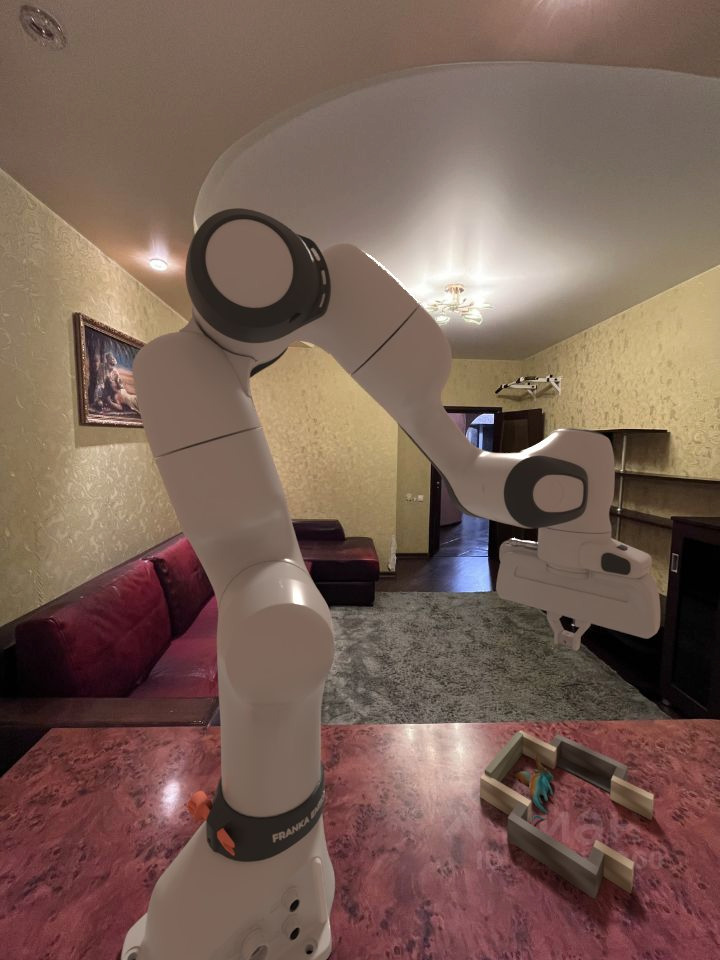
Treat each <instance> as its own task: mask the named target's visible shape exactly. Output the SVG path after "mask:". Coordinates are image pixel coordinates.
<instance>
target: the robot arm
mask: <svg viewBox="0 0 720 960" xmlns="http://www.w3.org/2000/svg"><path fill="white" fill-rule="evenodd" d="M312 249H313V250H314V251H315V253H316V254H317V255H315V254H314V252H313V250H312ZM184 273H185V283H186V289H187V292H188V296H189V298H190V302H191V310H192V311H191V317H190V319H189V320H188V323H187V324H186V325H185V326H184V327H181V328H180V329H179V330H178V331H176V332H175V331H174V332H170V333H166V334H162V335H160V336H157V337H155V338H153V339H151V340H150V341H149V342H147V343H146V344H144V345H143V346H142V347H141V348H140V349H139V350H138V352H137V353H136V355H135V357H134V359H133V361H132V368H131V369H132V379H133V384H134V391H135V397H136V401H137V407H138V410H139V414H140V418H141V422H142V427H143V429H144V432H145V436H146V439H147V442H148V445H149V447H150V450H151V454H152V456H153V458H154V462H155V464H156V467H157V470H158V472H159V474H160V477H161V480H162V482H163V485H164V488H165V490H166V493H167V496H168V498H169V500H170V503H171V506H172V509H173V511H174V513H175V515H176V519H177V520H178V521H177V522H178V524H179V526H180V529H181V531H182V533H183V535H184V537H185V538H186V539H187V540H188V542H189V543H190V545H191V547H192V549H193V551H194V552H195V555H196V556H197V558H198V560H199V562H200V564H201V566H202V567H203V570H204V572H205V574H206V576H207V577H208V580H209V583H210V584H211V587H212V589H213V592H214V595H215V599H216V602H217V611H218V614H217V615H218V616H217V631H216V659H217V660H216V661H217V664H216V665H217V683H218V684H217V685H218V703H219V717H220V759H221V761H220V765H221V766H220V768H221V771H220V772H221V775H220V777H219V781H218V783H217V786H216V787H215V792H214V795H213V798H212V799H211V800H212V801H211V800H210V799H209V798H208V797H207V794H206V793H205V792H204V791H203V790H199V791H196V792H195V793H193V794H192V795H191V797H190V798H189V800H188V801H187V805H186V806H187V807H186V808H187V811H188V812H189V813H190V814H191V815H193V819H194V820H195V821H196V822H200V821H203V820H204V822H203V823H202V824H201V825H200V826H199V827H198V829H197V830H196V831H195V832H194V834H193V836H192V837H191V838H190V839H189V840H188V841H187V843H186V845H185V846H184V847H183V848H182V849H181V851H180V852H179V853H178V855H176V857H175V858H174V860H172V862H171V863H170V865H169V866H168V867H167V868H166V869H165V870H164V872H163V873H162V874H161V875H160V877H159V878H158V879H157V881H156V883H155V885H154V887H153V889H152V893H151V896H150V900H149V904H148V907H147V912H146V913H145V914H143V916H142V917H140V918H139V919H138V920H137V921H136V922H135V923H134V924H133V925H132V926H131V927H130V928H129V930H128V931H127V933H126V936H125V937H124V942H123V946H122V950H121V954H120V960H327V959H328V958H329V956H330V955H331V953H332V945H333V944H332V943H333V941H332V931H331V923H330V922H331V920H330V917H331V911H332V907H333V904H334V899H335V890H336V880H335V878H336V877H335V871H334V867H333V864H332V860H331V858H330V855H329V852H328V848H327V847H328V846H327V842H326V836H325V834H326V833H325V828H324V819H323V812H324V807H325V803H326V802H325V801H326V799H325V798H326V791H325V788H326V787H325V784H326V783H325V767H324V764H323V760H322V758H321V757H322V754H321V753H322V749H321V748H322V744H321V743H322V739H321V738H322V735H321V734H322V732H321V731H322V727H321V726H322V725H321V724H322V722H321V719H322V717H321V716H322V705H323V704H322V703H323V697H324V691H325V687H326V686H325V685H326V681H327V677H328V676H329V674H330V671H331V669H332V667H333V662H334V659H335V655H336V651H335V650H336V644H335V642H336V641H335V632H334V631H335V630H334V625H333V620H332V613H331V610H330V608H329V606H328V604H327V602H326V600H325V598H324V597H323V595H322V593H321V592H320V590H319V589H318V588H317V586H316V584H315V583H314V580H313V579H312V576H311V574H310V573H309V571H308V569H307V566H306V564H305V561H304V559H303V556H302V555H303V554H302V552H301V550H300V545H299V542H298V539H297V536H296V531H295V529H294V526H293V522H292V517H291V513H290V509H289V506H288V502H287V496H286V493H285V489H284V488H283V485H282V482H281V478H280V476H279V473H278V470H277V468H276V464H275V462H274V458H273V455H272V453H271V452H272V451H271V450H270V447H269V444H268V441H267V438H266V435H265V432H264V429H263V427H262V423H261V420H260V418H259V415H258V411H257V409H256V406H255V404H254V400H253V397H252V390H251V384H250V383H251V382H250V378H253V377H254V376H255V375H257V374H259V373H260V372H261V371H263V370H265V369H266V368H269V367H270V366H271V365H273V364H275V363H276V362H277V361H279V360H280V359H281V357H282V356H284V354H285V353H286V351H288V348H289V347H290V345H292V344H293V343H294V342H296V341H298V342H303V343H304V342H305V343H309V344H312V345H314V346H316V347H318V348H319V349H322V350H323V351H324V352H325V353H327V354H328V355H331V356H332V358H333V359H334V360H335V361H336V362H337V364H339V366H340V367H341V368H342V369H343V370H344V371H345V372H346V374H348V375H350V377H351V379H353V381H355V382H356V383H357V384H358V386H360V388H362V389H363V391H365V392H366V393H367V394H368V395H369V396H370V397H371V398H372V399H373V400H374V401H375V402H376V403H377V404H378V405H379V406H380V407H381V408H382V409H383V410H384V411H385V412H386V413H388V415H389V416H390V417H391V418H392V419H393V420H394V421H395V422H396V423H397V425H398V427H400V429H401V430H402V432H404V434H405V435H406V436H407V437H408V438H409V440H410V441H411V442H412V443H413V444H414V445H415V446H416V448H418V449H417V450H419V451H420V453H422V454H423V455H424V456H425V458H426V459H427V460H428V461H429V462H430V464H431V465H432V466H433V467H434V468H435V470H436V471H437V472H438V474H439V475H440V477H441V479H442V481H443V484H444V486H445V488H446V491H447V493H448V497H449V498H450V500H451V502H452V504H453V505H454V507H455V508H456V509H457V510H458V511H459V512H461V513H462V514H464V515H466V516H468V517H472V518H478V519H486V520H491V521H493V522H494V521H495V522H498V523H502V524H505V525H510V526H515V527H519V528H521V529H522V528H523V529H538V534H537V541H531V540H521V539H518V538H513V537H512V538H509V539H508V540H505V541H503V542H502V543H501V545H500V546H499V555H498V557H499V561H500V563H499V568H498V572H497V578H496V585H495V586H496V587H495V591H496V592H497V594H498V597H499V598H500V599H503V600H506V601H510V602H513V603H518V604H521V605H525V606H528V607H532V608H535V609H538V610H541V611H546V620H547V622H548V623H549V626H550V628H551V630H552V632H553V644H555V645H557V646H561V647H565V648H566V649H570V650H573V651H576V652H578V650H580V647H581V637H582V636H583V635H584V634H585V632H586V631H587V630H588V629H589V628H590V627H591V625H596V626H600V627H603V628H607V629H610V630H614V631H618V632H620V633H624V634H628V635H631V636H635V637H638V638H642V639H650V638H652V637H653V636H655V635H656V634H657V633H658V631H659V629H660V626H661V601H660V592H659V588H658V584H657V582H656V580H655V579H654V577H653V576H652V575H651V574H650V573H649V572H650V571H651V569H652V565H653V559H652V556H651V555H650V554H649V553H647V552H645V551H643V550H640V549H637V548H635V547H633V546H631V545H628V544H625V543H623V542H621V541H619V540H617V539H615V538H613V537H612V523H611V520H610V509H611V506H612V503H613V500H614V497H615V496H614V495H615V483H616V482H615V479H616V478H615V477H616V476H615V475H616V473H615V472H616V471H615V469H616V467H615V465H616V464H615V455H614V450H613V446H612V442H611V440H610V439H609V437H607V436H605V435H604V434H603V433H601V432H598V431H594V430H589V429H585V428H584V429H581V428H575V427H574V428H573V427H572V428H570V427H569V428H568V427H567V428H565V427H563V428H557V429H553V430H552V431H550V432H549V434H548V435H547V437H546V438H544V439H542V440H541V441H540V442H538V443H536V444H534V445H532V446H531V447H528V448H526V449H522V450H520V451H519V452H510V453H509V452H505V453H504V452H492V451H488V450H484V449H481V448H479V447H477V446H475V445H474V444H473V443H472V442H471V441H470V440H469V439H468V437H467V436H466V434H464V433H463V431H462V430H461V428H460V427H459V425H457V424H456V422H455V421H454V420H453V419H452V417H451V415H449V413H448V412H447V411H446V409H445V407H444V405H443V402H442V392H443V390H444V388H445V387H446V384H447V382H448V381H449V378H450V373H451V369H452V361H453V359H452V357H453V356H452V355H453V354H452V347H451V344H450V343H449V340H448V339H447V337H446V335H445V333H444V331H443V330H442V328H441V327H440V325H439V324H438V322H437V321H436V320H435V319H434V317H433V316H432V315H431V314H430V313H429V311H428V310H427V309H426V308H425V307H424V306H423V305H422V304H421V303H420V301H419V300H418V299H417V298H416V297H415V295H414V294H413V293H412V292H410V290H409V289H408V288H407V287H406V286H405V285H404V284H403V283H402V282H401V281H400V280H399V279H398V278H397V277H396V276H394V274H392V273H391V272H390V271H389V270H388V269H387V268H386V267H385V266H383V265H382V264H381V263H380V262H379V261H377V260H376V259H375V258H374V257H372V256H371V255H370V254H368V253H367V252H366V251H365V250H363V249H362V248H360V247H358V246H356V245H354V244H350V243H338V244H334V245H332V246H330V247H328V248H326V249H324V250H323V251H321V250H320V248H319V246H318V245H317V243H316V242H315V241H314V240H312V239H311V238H308V237H306V236H303V235H301V234H299V233H296V232H295V231H293V230H292V229H291V228H289V226H287V225H285V224H284V223H282V221H279V220H278V219H276V218H274V217H273V216H270V215H268V214H265V213H262V212H260V211H257V210H253V209H249V208H248V209H247V208H242V207H240V208H235V207H234V208H229V209H224V210H221V211H218V212H216V213H214V214H213V215H211V216H210V217H207V219H206V220H204V221H203V223H202V224H201V225H200V226H199V227H198V229H197V230H196V231H195V233H194V235H193V236H192V239H191V241H190V243H189V247H188V251H187V255H186V260H185V272H184ZM563 616H564V617H567V618H569V619H570V618H571V619H573V620H574V626H575V627H576V628H578V629H577V630H576V631H575V632H572V631H568V630H564V627H563V625H562V623H561V620H560V618H562V617H563ZM309 951H311V953H309V954H308V953H307V952H309Z"/></svg>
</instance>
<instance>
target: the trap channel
mask: <svg viewBox="0 0 720 960" xmlns="http://www.w3.org/2000/svg"><path fill="white" fill-rule="evenodd" d="M537 753H538V759H539V760H540V764H541V765H542V764H543V765H545V766H546V767H547V768H550V769H552V770H555V768H556V767H558V768H560V769H563V770H564V771H566V772H569V773H570V774H573V775H575V776H576V777H578V778H580V779H582V780H584V781H586V782H588V783H589V784H591V785H593V786H596V787H597V788H599V789H600V790H603V791H606V792H607V793H609V794H610V796H609V799H610V800H612V801H614V802H615V803H616V804H618V805H620V806H623V807H624V808H627V809H628V810H630V811H632V812H635V813H636V814H638V815H640V816H642V817H644V818H646V819H647V820H649V821H652V819H653V816H654V815H653V814H654V801H655V799H654V797H655V795H654V794H653V793H651V792H648V791H647V790H644V789H642V788H641V787H638V786H636V785H634V784H632V783H631V782H628V773H629V771H628V770H629V766H628V765H626V764H624V763H622V762H621V761H620V762H619V761H617V760H615V759H612V758H611V757H609V756H606V755H604V754H602V753H600V752H597V751H596V750H593V749H591V748H589V747H587V746H585V745H582V744H580V743H578V742H576V741H574V740H572V739H569V738H567V737H565V736H563V735H561V734H559V733H556V734H555V736H554V737H553V738H552V740H551V741H550V743H547V742H546V741H544V740H542V739H539V738H538V737H535V736H533V735H531V734H529V733H526V732H525V731H523V730H521V729H520V730H519V731H516V732H515V734H514V735H513V736H512V737H511V738H510V739H509V740H508V741H507V743H506V744H505V745H504V746H503V747H502V748H501V749H500V751H499V752H498V753H497V754H496V755H495V757H494V758H493V759H492V760H491V761H490V762H489V764H488V765H487V766H486V767H485V768H484V772H483V773H482V775H481V776H480V781H479V782H480V783H479V798H481V799H483V800H484V801H486V802H487V803H489V804H491V805H492V806H494V807H495V808H497V809H498V810H500V811H501V812H503V813H505V814H506V815H508V817H507V826H506V827H507V828H506V830H507V832H506V834H507V835H506V839H507V840H508V841H509V842H511V844H514V845H515V846H516V847H518V848H520V849H521V850H522V851H523V852H525V853H526V854H528V855H529V856H531V857H532V858H534V859H535V860H537V861H538V860H539V861H538V862H540V863H541V862H542V863H541V864H543V865H544V864H545V865H547V866H548V867H549V868H548V867H547V866H546V867H547V868H548V869H549V870H551V871H553V872H554V873H555V874H557V875H559V876H560V877H562V878H563V879H564V880H566V881H567V882H569V883H570V884H572V885H573V886H575V887H576V888H577V889H579V890H580V891H582V892H583V893H585V894H586V895H588V897H590V898H592V899H594V900H596V898H597V895H598V892H599V889H600V887H601V884H602V881H603V878H605V879H607V880H608V881H610V882H611V883H613V884H615V885H616V886H617V887H619V888H621V889H623V891H625V892H627V893H629V894H632V891H633V887H634V871H635V870H634V869H635V861H633V860H631V859H629V858H628V857H626V856H624V855H623V854H621V853H619V852H618V851H616V850H614V849H612V848H611V847H609V846H607V845H606V844H604V843H603V842H601V841H599V840H597V839H595V841H594V843H593V846H592V849H591V851H590V854H589V856H588V858H585V857H583V856H581V855H580V854H578V853H577V852H575V851H574V850H572V849H571V848H569V847H568V846H566V845H565V844H563V843H561V842H559V841H558V840H557V839H555V838H553V837H552V836H550V835H549V834H547V833H546V832H544V831H542V830H541V829H539V828H537V827H536V826H535V825H533V824H531V821H532V819H531V817H532V816H531V815H532V814H531V813H532V800H530V799H528V798H527V797H526V796H523V795H522V794H520V793H519V792H517V791H516V790H514V789H512V788H510V787H508V786H507V785H505V784H504V783H502V781H503V779H505V777H506V776H507V774H508V773H509V772H510V770H511V769H512V768H513V767H514V765H515V764H516V763H517V762H518V760H519V759H520V758H521V756H522V755H524V756H527V757H529V758H531V759H533V760H534V761H536V754H537ZM545 865H544V866H545Z"/></svg>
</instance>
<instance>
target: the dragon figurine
mask: <svg viewBox="0 0 720 960" xmlns="http://www.w3.org/2000/svg"><path fill="white" fill-rule="evenodd" d="M535 763H536V766H537V769H536V768H534V769H533V771H534V772H531V776H530V772H529V771H525V770H524V771H521V770H520V771H518V772H517V773H515V774H513V776H514V778H515V779H516V780H517V781H520V782H521V784H523V785H526V786H527V787H528V790H529V793H530V797H531V799H532V801H533V803H534V804H535V806H536V808H538V809H539V810H541V811H542V812H543V813H545V814H547V815H549V812H548V811H547V810H546V809H545V808H544V807H543V806H542V805H541V804H543V801H542V798H541V796H543V799H544V801H546V802H547V801H549V799H548V795H547V794H548V793H549V794H550V795H551V796H553V794H554V792H553V790H552V787H551V785H550V784H551V783H553V781H554V776H553V775H552V774H551V772H550V771H549V770H548V767H544V766H543V765H542V764H541V763H540V760H539V759H538V753H537V754H536V760H535ZM536 818H539V819H540V820H542V821H545V820H546V818H543V817H542V816H540V815H537V814H536V815H533V816H532V819H531V821H532V823H533V822H534V819H536Z"/></svg>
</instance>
